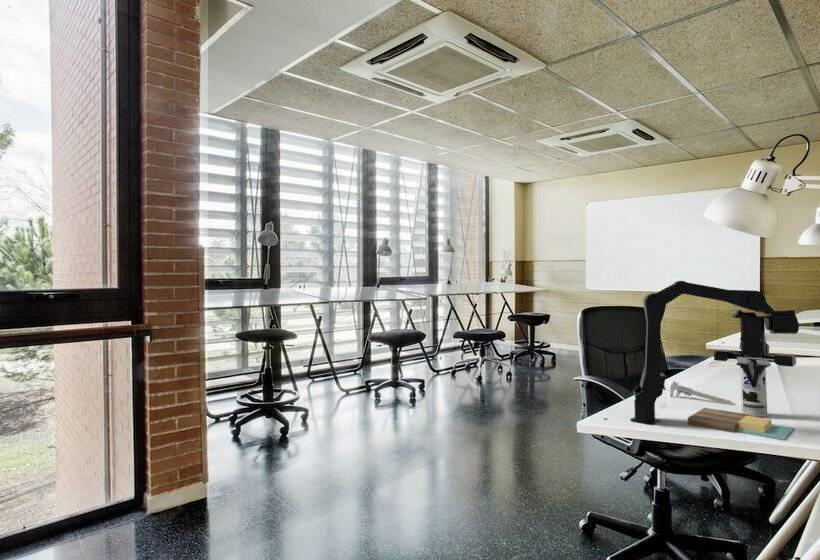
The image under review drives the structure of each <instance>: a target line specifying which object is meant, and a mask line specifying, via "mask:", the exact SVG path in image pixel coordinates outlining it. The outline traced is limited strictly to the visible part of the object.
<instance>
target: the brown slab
mask: <svg viewBox="0 0 820 560" xmlns="http://www.w3.org/2000/svg"><path fill="white" fill-rule="evenodd" d="M745 416H749V414H743V413H742V412H735V411H729V410H722V409H717V408H716V409H715V408H709V407H708V408H707V407H703V408H702V409H700V410H698V411H697V412H695V413H693V414H692V415H690V416H688V417H687V425H690V426H695V427H701V428H707V429H713V430H718V431H720V430H721V431H723V430H725V431H724V432H729V431H730V432H729V433H736V432H738V429H739V423H738V422H739V421H740V420H741V419H743V418H744V417H745Z"/></svg>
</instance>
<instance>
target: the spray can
mask: <svg viewBox="0 0 820 560" xmlns="http://www.w3.org/2000/svg"><path fill="white" fill-rule="evenodd" d="M745 356H748V355H745ZM757 357H760V356H757ZM750 362H753V372H754V365H755V364H757V362H756V361H750ZM739 370H740V371H739V372H740V373H739V374H740V395H741V397H740V399H741V400H740V401H741V413H743V414H749V416H753V417H759V418H767V417H768V398H767V395H768V393H767V372H766V370H767V369H766V368H765V369H764V370H763V372H762V374H761V377H760V379H759V382H758V385H757V387H756V388H753V387H752V385H751V383H750V381H749V379H748V377H747V375H746V373H745V372H744V370H743V369H742V367H741V366H740V365H739Z"/></svg>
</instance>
